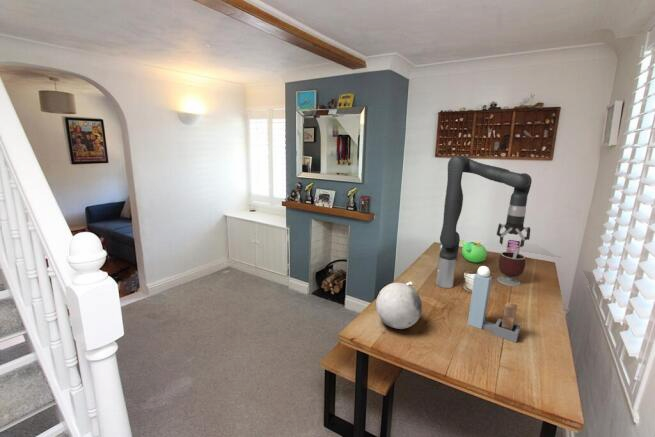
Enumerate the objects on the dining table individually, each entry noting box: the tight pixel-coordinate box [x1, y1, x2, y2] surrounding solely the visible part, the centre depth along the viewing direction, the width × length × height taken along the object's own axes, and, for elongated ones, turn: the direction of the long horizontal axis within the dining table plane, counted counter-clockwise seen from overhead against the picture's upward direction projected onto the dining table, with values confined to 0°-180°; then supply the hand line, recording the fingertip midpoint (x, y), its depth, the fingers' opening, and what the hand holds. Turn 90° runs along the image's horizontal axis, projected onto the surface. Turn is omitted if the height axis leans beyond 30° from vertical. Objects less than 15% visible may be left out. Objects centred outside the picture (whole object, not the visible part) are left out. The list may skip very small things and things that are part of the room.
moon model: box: [375, 282, 423, 330], centre depth 143 cm, size 20×20×20 cm
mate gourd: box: [497, 248, 526, 287], centre depth 194 cm, size 16×14×20 cm
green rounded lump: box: [459, 239, 488, 263], centre depth 227 cm, size 18×17×15 cm
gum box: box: [505, 239, 521, 254], centre depth 227 cm, size 24×8×14 cm, turn 148°
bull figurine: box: [406, 281, 415, 288], centre depth 170 cm, size 4×13×8 cm, turn 137°
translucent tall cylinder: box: [501, 301, 518, 331], centre depth 139 cm, size 4×4×14 cm
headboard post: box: [467, 265, 521, 343], centre depth 140 cm, size 20×9×28 cm, turn 52°
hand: (511, 245), depth 160 cm, fingers open, 8 cm apart
